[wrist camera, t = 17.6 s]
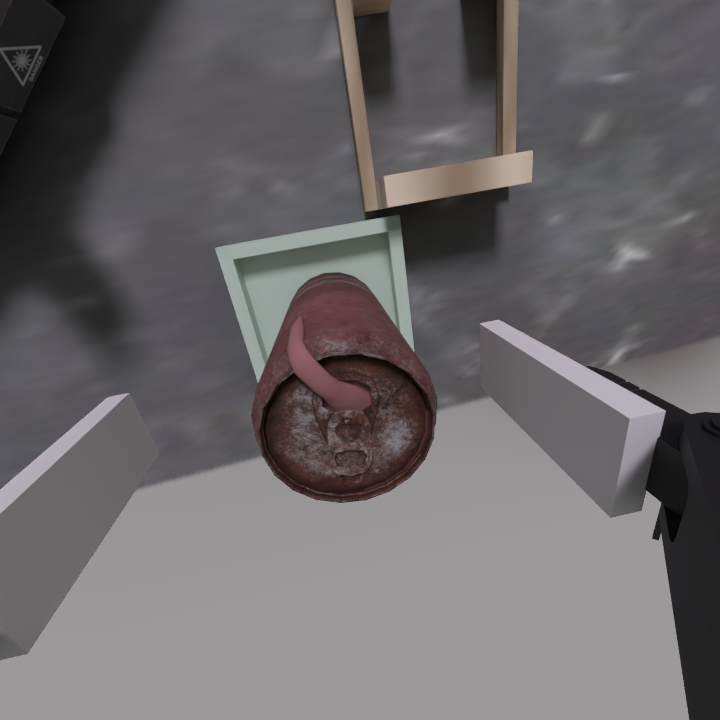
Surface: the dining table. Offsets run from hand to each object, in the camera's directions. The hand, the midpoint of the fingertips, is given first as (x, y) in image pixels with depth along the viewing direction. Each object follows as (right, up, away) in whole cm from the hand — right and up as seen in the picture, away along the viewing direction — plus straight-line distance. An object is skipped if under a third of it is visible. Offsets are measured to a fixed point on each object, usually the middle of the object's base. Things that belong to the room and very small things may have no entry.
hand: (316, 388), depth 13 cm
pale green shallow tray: (-1, +5, +11) cm, 12 cm away
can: (0, +4, +10) cm, 11 cm away
